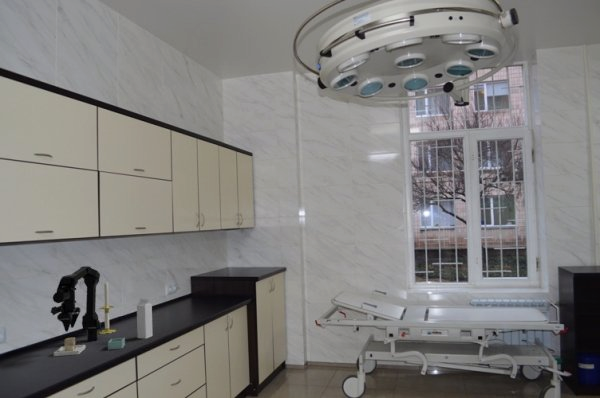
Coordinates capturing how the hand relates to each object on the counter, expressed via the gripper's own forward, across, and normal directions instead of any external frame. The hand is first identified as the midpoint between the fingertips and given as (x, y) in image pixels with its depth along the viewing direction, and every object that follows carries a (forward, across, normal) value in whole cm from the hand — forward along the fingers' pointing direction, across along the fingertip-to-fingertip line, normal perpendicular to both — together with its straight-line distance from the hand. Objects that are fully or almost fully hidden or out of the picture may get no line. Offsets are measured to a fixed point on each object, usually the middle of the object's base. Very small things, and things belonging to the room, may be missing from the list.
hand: (69, 329), depth 241 cm
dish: (+12, 0, 0) cm, 12 cm away
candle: (+12, -42, +9) cm, 45 cm away
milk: (+12, -20, +35) cm, 42 cm away
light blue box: (+12, -2, +23) cm, 26 cm away
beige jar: (+11, 0, 0) cm, 11 cm away
